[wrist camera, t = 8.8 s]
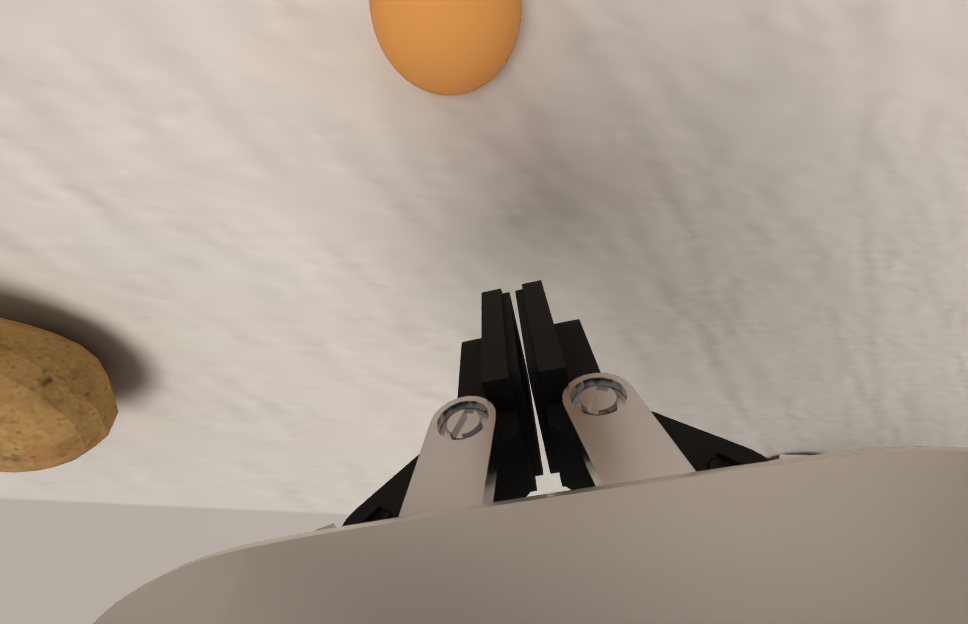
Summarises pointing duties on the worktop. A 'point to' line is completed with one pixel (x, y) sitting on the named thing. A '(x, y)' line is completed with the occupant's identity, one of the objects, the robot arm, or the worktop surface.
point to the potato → (49, 399)
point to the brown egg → (446, 40)
